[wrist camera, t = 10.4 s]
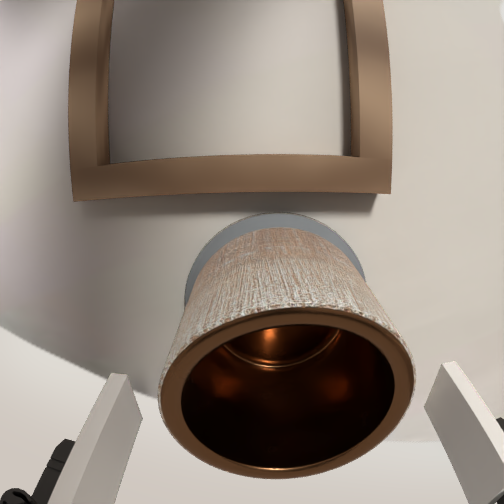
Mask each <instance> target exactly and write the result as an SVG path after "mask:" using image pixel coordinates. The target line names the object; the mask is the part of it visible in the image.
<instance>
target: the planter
mask: <svg viewBox="0 0 504 504" xmlns="http://www.w3.org/2000/svg"><path fill="white" fill-rule="evenodd" d="M415 384H416V369H415V364H414V360H413V357H412V354H411V352H410V350H409V348H408V346H407V344H406V343H405V341H404V339H403V338H402V336H401V335H400V333H399V332H398V330H397V329H396V327H395V326H394V324H393V323H392V321H391V320H390V318H389V317H388V315H387V314H386V312H385V311H384V309H383V308H382V306H381V305H380V303H379V302H378V300H377V299H376V297H375V296H374V294H373V293H372V291H371V290H370V288H369V287H368V285H367V284H366V282H365V281H364V279H363V278H362V276H361V275H360V274H359V272H358V271H357V269H356V268H355V266H354V265H353V264H352V262H351V261H350V260H349V258H348V257H347V256H346V255H345V254H344V253H343V252H342V251H341V250H340V249H339V248H337V247H336V246H335V245H334V244H332V243H331V242H329V241H327V240H326V239H324V238H322V237H320V236H318V235H316V234H314V233H311V232H308V231H305V230H301V229H295V228H288V227H274V228H265V229H259V230H255V231H252V232H249V233H246V234H244V235H241V236H239V237H237V238H235V239H233V240H231V241H230V242H228V243H227V244H225V245H224V246H223V247H221V248H220V249H219V250H218V251H217V252H216V253H215V254H214V255H213V256H212V257H211V258H210V259H209V260H208V261H207V263H206V264H205V265H204V267H203V268H202V270H201V271H200V273H199V275H198V277H197V279H196V281H195V284H194V286H193V289H192V292H191V294H190V297H189V300H188V302H187V305H186V308H185V311H184V314H183V317H182V319H181V322H180V325H179V328H178V331H177V334H176V336H175V339H174V342H173V345H172V347H171V350H170V353H169V355H168V358H167V361H166V364H165V366H164V369H163V372H162V375H161V378H160V383H159V387H158V404H159V410H160V414H161V417H162V419H163V422H164V424H165V426H166V427H167V429H168V430H169V432H170V433H171V435H172V436H173V438H174V439H175V440H176V441H177V442H178V443H179V444H180V445H181V446H182V447H183V448H184V449H186V450H187V451H188V452H189V453H191V454H192V455H193V456H195V457H196V458H198V459H200V460H201V461H203V462H205V463H207V464H209V465H211V466H213V467H215V468H218V469H221V470H223V471H227V472H229V473H233V474H237V475H242V476H247V477H253V478H262V479H289V478H298V477H306V476H311V475H315V474H320V473H323V472H327V471H329V470H333V469H335V468H338V467H340V466H343V465H345V464H348V463H350V462H352V461H354V460H356V459H358V458H359V457H361V456H363V455H364V454H366V453H367V452H369V451H370V450H372V449H373V448H375V447H376V446H377V445H378V444H380V443H381V442H382V441H383V440H384V439H385V438H387V437H388V436H389V435H390V433H391V432H392V431H393V430H394V429H395V428H396V427H397V425H398V424H399V423H400V421H401V420H402V418H403V417H404V415H405V414H406V412H407V410H408V408H409V406H410V403H411V401H412V398H413V395H414V391H415Z"/></svg>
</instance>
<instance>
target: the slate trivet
mask: <svg viewBox="0 0 504 504" xmlns="http://www.w3.org/2000/svg"><path fill="white" fill-rule="evenodd" d="M274 227H288V228H295V229H301V230H305V231H308V232H311V233H314V234H316V235H318V236H320V237H322V238H324V239H326V240H327V241H329V242H331V243H332V244H334V245H335V246H336V247H337V248H339V249H340V250H341V251H342V252H343V253H344V254H345V255H346V256H347V257H348V258H349V260H350V261H351V262H352V264H353V265H354V266H355V268H356V269H357V271H358V272H359V274H360V275H361V276H362V278H363V279H364V281H365V276H364V272H363V269H362V267H361V264H360V262H359V260H358V258H357V256H356V255H355V253H354V251H353V250H352V249H351V248H350V246H349V245H348V244H347V243H346V242H345V240H344V239H343V238H342V237H341V236H339V235H338V234H337V233H336V232H335V231H334V230H332V229H331V228H329V227H328V226H327V225H325V224H323V223H321V222H319V221H317V220H315V219H312V218H309V217H306V216H303V215H299V214H294V213H285V212H272V213H262V214H257V215H253V216H249V217H246V218H244V219H241V220H238V221H236V222H234V223H232V224H231V225H229V226H227V227H226V228H224V229H223V230H221V231H220V232H218V233H217V234H216V235H215V236H214V237H213V238H212V239H211V240H209V242H208V243H207V244H206V245H205V246H204V248H203V249H202V250H201V252H200V253H199V255H198V257H197V258H196V260H195V262H194V264H193V266H192V268H191V271H190V273H189V276H188V280H187V284H186V290H185V308H186V305H187V302H188V300H189V297H190V294H191V292H192V289H193V286H194V284H195V281H196V279H197V277H198V275H199V273H200V271H201V270H202V268H203V267H204V265H205V264H206V263H207V261H208V260H209V259H210V258H211V257H212V256H213V255H214V254H215V253H216V252H217V251H218V250H219V249H220V248H221V247H223V246H224V245H225V244H227V243H228V242H230V241H231V240H233V239H235V238H237V237H239V236H241V235H244V234H246V233H249V232H252V231H255V230H259V229H265V228H274ZM365 282H366V281H365Z"/></svg>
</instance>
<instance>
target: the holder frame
mask: <svg viewBox="0 0 504 504" xmlns="http://www.w3.org/2000/svg"><path fill="white" fill-rule="evenodd" d="M343 1H344V10H345V20H346V31H347V44H348V58H349V77H350V104H351V156H335V155H300V154H253V155H217V156H197V157H180V158H166V159H154V160H143V161H133V162H123V163H114V164H110V155H109V130H108V77H109V53H110V38H111V26H112V15H113V6H114V0H77V4H76V10H75V17H74V25H73V33H72V43H71V54H70V69H69V94H68V128H69V154H70V170H71V182H72V192H73V201H74V202H76V201H87V200H98V199H111V198H124V197H138V196H155V195H173V194H196V193H226V192H350V193H379V194H391V176H392V92H391V73H390V59H389V48H388V38H387V29H386V21H385V13H384V6H383V0H343Z"/></svg>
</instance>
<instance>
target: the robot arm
mask: <svg viewBox="0 0 504 504" xmlns="http://www.w3.org/2000/svg"><path fill="white" fill-rule="evenodd" d="M424 408H425V410H426V412H427V414H428V416H429V418H430V420H431V422H432V424H433V426H434V428H435V430H436V432H437V434H438V436H439V438H440V440H441V442H442V445H443V447H444V449H445V451H446V453H447V455H448V457H449V459H450V462H451V463H452V466H453V468H454V470H455V473H456V475H457V477H458V479H459V482H460V484H461V486H462V488H463V491H464V493H465V495H466V498H467V500H468V503H469V504H495V503H496V502H497V504H504V419H502V418H501V417H500V418H498V419H495V418H494V416H493V415H492V413H491V412H490V410H489V409H488V407H487V406H486V404H485V403H484V401H483V400H482V398H481V397H480V395H479V394H478V392H477V391H476V389H475V388H474V387H473V385H472V384H471V382H470V381H469V379H468V378H467V377H466V375H465V374H464V372H463V371H462V370H461V368H460V367H459V366H458V364H457V363H456V361H452V362H447V363H442V364H441V367H440V369H439V372H438V375H437V377H436V380H435V382H434V385H433V387H432V389H431V392H430V394H429V396H428V399H427V401H426V403H425V406H424ZM142 419H143V418H142V415H141V413H140V410H139V407H138V404H137V402H136V399H135V396H134V393H133V390H132V387H131V384H130V381H129V377H128V375H126V374H117V373H111V374H110V376H109V378H108V380H107V382H106V383H105V386H104V387H103V389H102V391H101V393H100V395H99V397H98V399H97V401H96V402H95V404H94V406H93V408H92V410H91V412H90V414H89V416H88V418H87V420H86V422H85V424H84V426H83V428H82V430H81V432H80V434H79V436H78V438H77V440H76V442H75V441H71V440H68V439H64V440H63V441H62V442H61V443H60V444H59V445H58V446H57V447H56V448H55V450H54V452H53V454H52V456H51V459H50V460H49V462H48V464H47V468H45V470H44V472H43V474H42V476H41V478H40V480H39V482H38V484H37V487H36V488H35V490H34V493H33V495H32V496H30V495H29V494H27V493H26V492H25V491H24V490H21V489H19V488H14V489H13V488H12V489H10V490H7V491H6V492H5V493H4V494H3V495H2V497H1V500H0V504H114V503H115V500H116V496H117V493H118V490H119V487H120V484H121V481H122V478H123V475H124V471H125V468H126V465H127V462H128V459H129V456H130V453H131V450H132V447H133V444H134V442H135V439H136V435H137V433H138V430H139V427H140V424H141V421H142Z"/></svg>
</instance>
